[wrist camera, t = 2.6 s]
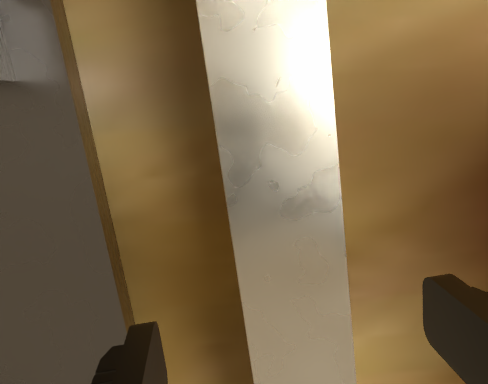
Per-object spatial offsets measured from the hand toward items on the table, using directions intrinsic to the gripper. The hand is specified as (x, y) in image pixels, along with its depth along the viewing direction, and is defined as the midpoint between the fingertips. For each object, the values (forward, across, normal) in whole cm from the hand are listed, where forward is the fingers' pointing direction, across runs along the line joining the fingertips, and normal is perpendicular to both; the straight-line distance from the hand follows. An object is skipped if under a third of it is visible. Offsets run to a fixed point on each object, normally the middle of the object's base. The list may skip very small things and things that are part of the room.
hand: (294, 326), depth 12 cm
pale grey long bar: (+7, -1, 0) cm, 7 cm away
